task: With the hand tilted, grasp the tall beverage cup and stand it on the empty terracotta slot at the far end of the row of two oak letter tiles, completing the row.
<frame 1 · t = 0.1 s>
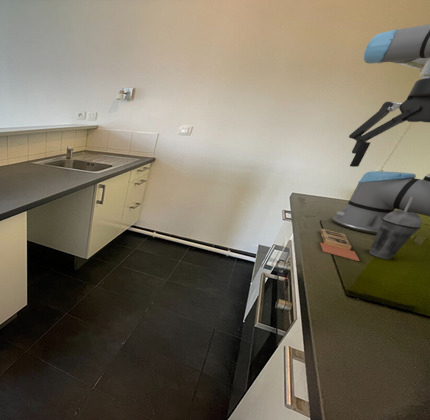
hand: (391, 172, 62), 28 cm above the counter, tool pointing down, fingers open, 13 cm apart
oak tile 2: (335, 244, 85), on the counter
beverage cup: (379, 255, 79), on the counter
oak tile 1: (332, 237, 90), on the counter
slot pad: (338, 251, 80), on the counter
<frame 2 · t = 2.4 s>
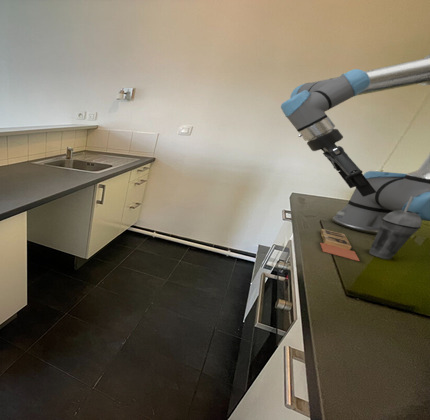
hand: (362, 190, 77), 20 cm above the counter, tool tilted 45°, fingers open, 13 cm apart
nothing on the counter moved.
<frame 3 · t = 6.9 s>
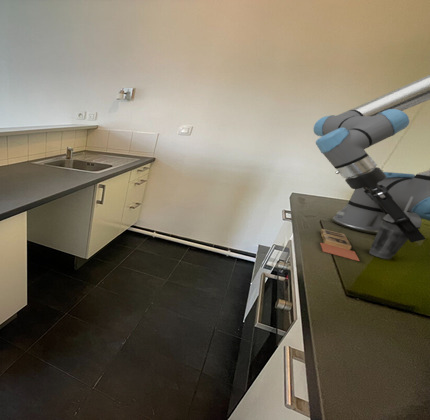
hand: (412, 235, 73), 9 cm above the counter, tool tilted 45°, fingers closed on beverage cup, 7 cm apart
beverage cup: (379, 255, 79), on the counter, touching gripper
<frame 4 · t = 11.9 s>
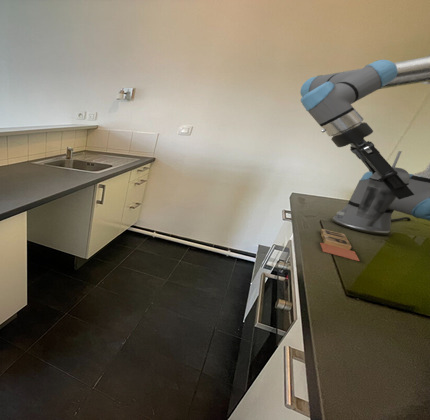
hand: (401, 193, 70), 21 cm above the counter, tool tilted 45°, fingers closed on beverage cup, 7 cm apart
beverage cup: (366, 217, 75), point 12 cm above the counter, touching gripper
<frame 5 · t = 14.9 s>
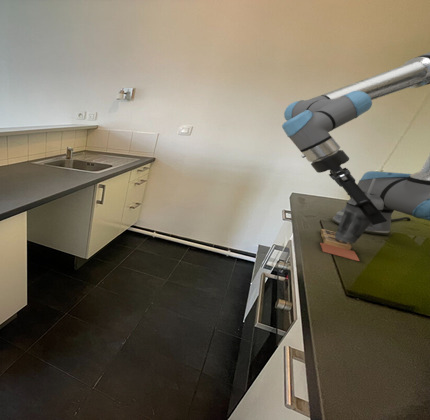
hand: (376, 218, 73), 13 cm above the counter, tool tilted 45°, fingers closed on beverage cup, 7 cm apart
beverage cup: (344, 240, 78), point 4 cm above the counter, touching gripper
when the fingers open (9 cm above the counter, at t = 17.1 s): beverage cup stays where it is, resting on slot pad.
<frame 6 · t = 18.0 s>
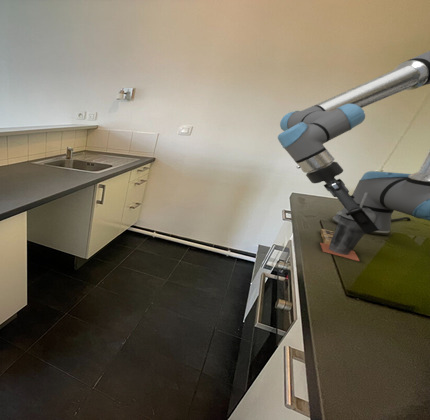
hand: (366, 224, 74), 11 cm above the counter, tool tilted 45°, fingers open, 13 cm apart
beverage cup: (338, 251, 80), resting on slot pad
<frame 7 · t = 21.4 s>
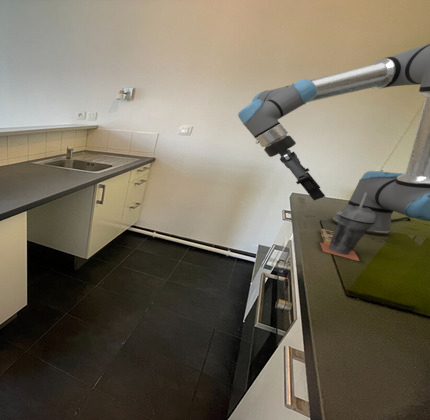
hand: (317, 193, 80), 17 cm above the counter, tool tilted 45°, fingers open, 13 cm apart
nothing on the counter moved.
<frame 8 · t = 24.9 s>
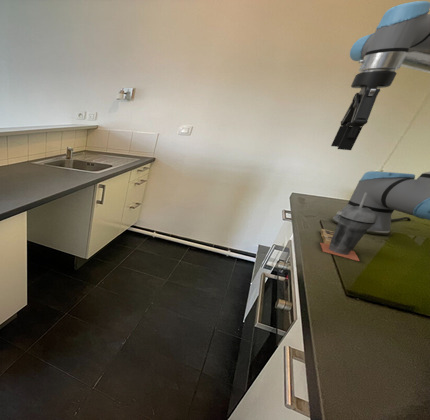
hand: (340, 148, 77), 32 cm above the counter, tool pointing down, fingers open, 13 cm apart
nothing on the counter moved.
at the end: beverage cup 0.1 cm from the target spot, resting on slot pad; beverage cup tilted 0°; the gripper is holding nothing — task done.
